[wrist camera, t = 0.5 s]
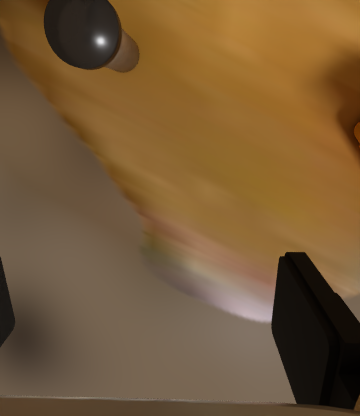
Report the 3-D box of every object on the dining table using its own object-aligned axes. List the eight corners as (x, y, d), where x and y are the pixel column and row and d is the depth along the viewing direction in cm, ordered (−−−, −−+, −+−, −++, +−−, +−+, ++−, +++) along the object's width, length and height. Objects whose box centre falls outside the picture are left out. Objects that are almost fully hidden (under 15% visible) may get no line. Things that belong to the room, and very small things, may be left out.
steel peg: (98, 27, 32) (39, -17, 19) (144, 28, 32) (115, -16, 19) (101, 78, 34) (49, 67, 21) (145, 78, 34) (119, 68, 21)
